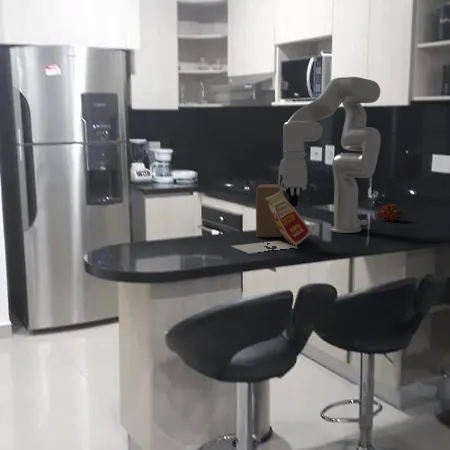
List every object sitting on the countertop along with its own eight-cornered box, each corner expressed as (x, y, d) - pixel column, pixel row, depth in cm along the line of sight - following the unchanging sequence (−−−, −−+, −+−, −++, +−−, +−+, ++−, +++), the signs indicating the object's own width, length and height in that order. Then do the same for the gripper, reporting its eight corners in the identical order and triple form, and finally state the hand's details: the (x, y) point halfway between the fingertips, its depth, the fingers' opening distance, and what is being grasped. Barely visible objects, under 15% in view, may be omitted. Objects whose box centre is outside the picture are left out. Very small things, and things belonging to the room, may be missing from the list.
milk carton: (295, 246, 235) (265, 203, 229) (286, 242, 244) (257, 200, 238) (314, 230, 236) (285, 187, 231) (304, 227, 245) (276, 185, 239)
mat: (278, 241, 244) (278, 240, 244) (298, 248, 232) (298, 247, 232) (231, 246, 236) (231, 245, 236) (248, 253, 223) (248, 253, 223)
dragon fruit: (400, 226, 280) (380, 226, 291) (410, 213, 284) (389, 214, 294) (391, 212, 277) (370, 212, 288) (401, 199, 281) (380, 200, 291)
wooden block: (281, 238, 250) (281, 187, 247) (255, 237, 252) (255, 186, 249) (284, 233, 260) (284, 184, 257) (259, 232, 262) (259, 184, 259)
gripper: (305, 154, 240) (304, 203, 243) (270, 156, 233) (270, 206, 237) (316, 155, 233) (316, 206, 236) (280, 157, 227) (280, 208, 230)
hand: (293, 206), depth 236 cm, fingers closed
